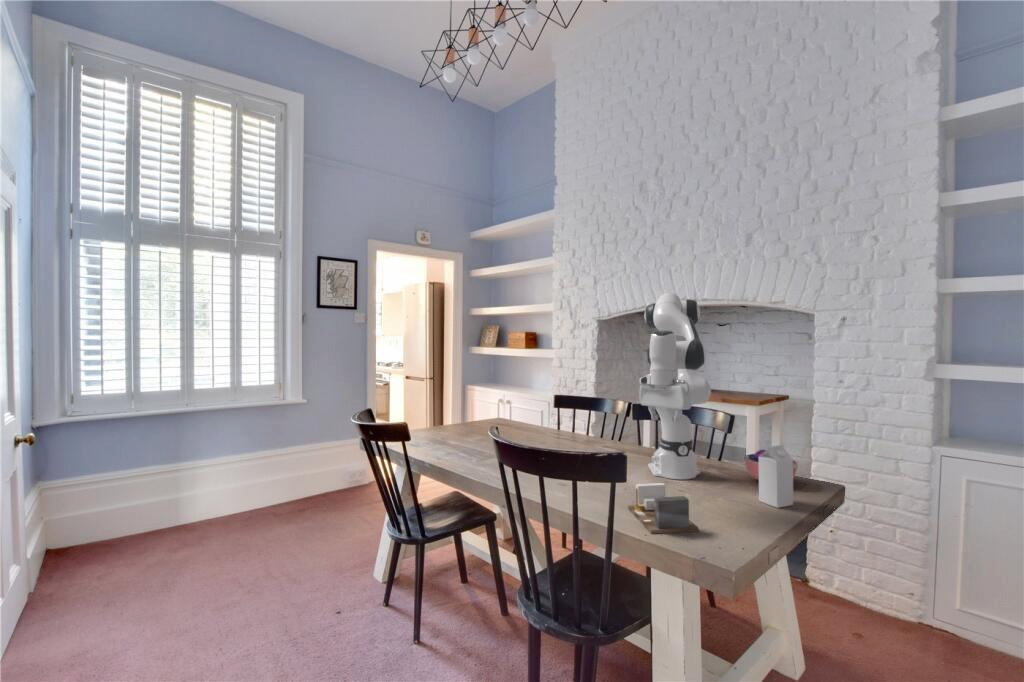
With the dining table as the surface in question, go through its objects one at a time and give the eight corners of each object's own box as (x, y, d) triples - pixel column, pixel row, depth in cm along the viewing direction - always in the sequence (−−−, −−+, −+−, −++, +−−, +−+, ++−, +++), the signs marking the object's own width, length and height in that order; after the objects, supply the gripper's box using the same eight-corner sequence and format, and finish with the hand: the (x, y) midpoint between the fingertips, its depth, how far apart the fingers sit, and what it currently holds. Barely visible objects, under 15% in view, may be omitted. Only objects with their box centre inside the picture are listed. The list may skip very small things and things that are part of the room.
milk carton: (758, 501, 160) (758, 444, 160) (774, 498, 162) (773, 442, 162) (777, 508, 153) (776, 449, 153) (793, 505, 156) (792, 447, 155)
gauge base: (627, 508, 156) (627, 480, 156) (669, 505, 158) (668, 478, 158) (651, 533, 137) (650, 502, 136) (698, 530, 138) (697, 499, 138)
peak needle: (634, 509, 152) (634, 488, 151) (643, 508, 152) (643, 488, 152) (635, 509, 151) (635, 489, 151) (644, 509, 151) (643, 488, 151)
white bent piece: (635, 504, 156) (635, 484, 156) (663, 503, 156) (662, 482, 156) (645, 514, 147) (645, 493, 147) (674, 513, 148) (673, 491, 148)
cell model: (773, 493, 168) (773, 460, 168) (732, 476, 187) (732, 447, 187) (811, 487, 173) (811, 456, 172) (767, 472, 192) (767, 444, 192)
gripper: (695, 379, 151) (696, 424, 151) (649, 378, 170) (650, 417, 169) (680, 380, 148) (682, 425, 148) (635, 378, 167) (636, 418, 166)
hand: (665, 421), depth 159 cm, fingers open, 8 cm apart
